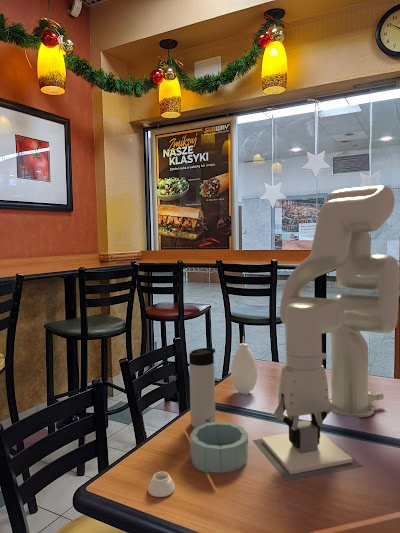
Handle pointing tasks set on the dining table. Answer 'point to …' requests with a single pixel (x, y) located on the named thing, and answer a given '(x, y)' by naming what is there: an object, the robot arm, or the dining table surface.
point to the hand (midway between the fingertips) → (304, 442)
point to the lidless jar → (161, 485)
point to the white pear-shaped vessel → (243, 369)
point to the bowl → (219, 447)
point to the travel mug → (202, 386)
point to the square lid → (306, 450)
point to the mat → (316, 472)
